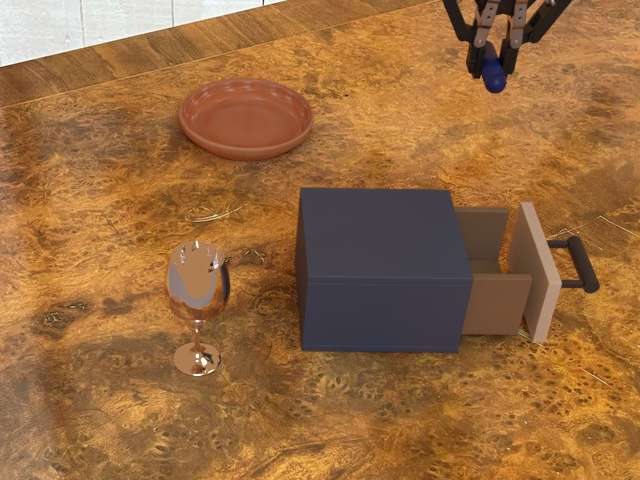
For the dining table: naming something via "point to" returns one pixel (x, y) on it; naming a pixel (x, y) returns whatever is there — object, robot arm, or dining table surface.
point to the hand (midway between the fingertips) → (488, 75)
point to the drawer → (516, 272)
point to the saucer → (246, 118)
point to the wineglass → (197, 299)
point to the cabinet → (380, 270)
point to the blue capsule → (493, 71)
